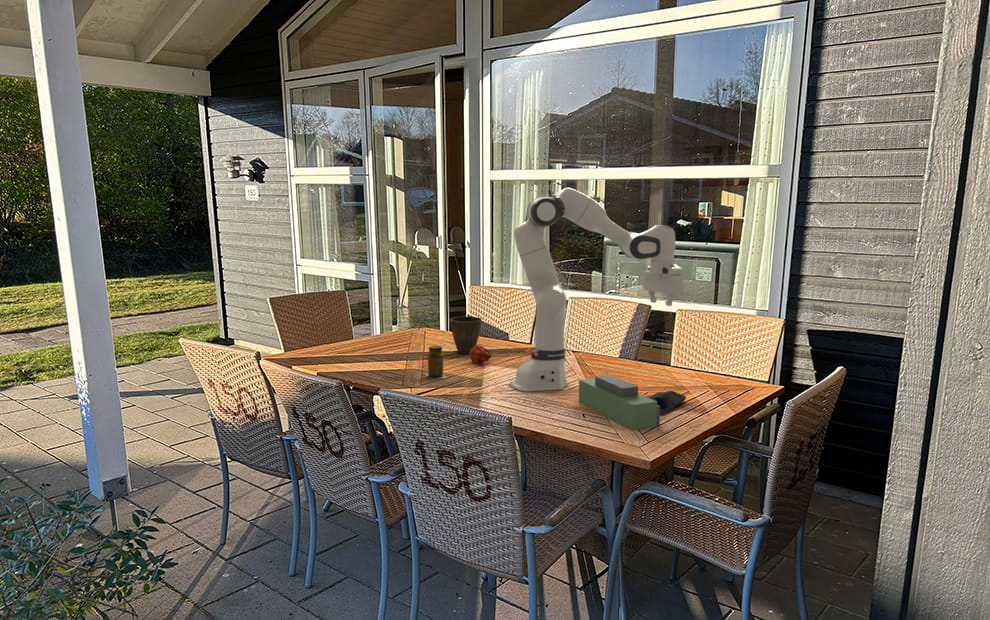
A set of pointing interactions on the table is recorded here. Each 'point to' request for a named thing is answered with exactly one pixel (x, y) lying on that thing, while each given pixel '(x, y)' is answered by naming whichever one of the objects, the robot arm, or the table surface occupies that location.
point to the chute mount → (619, 401)
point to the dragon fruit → (479, 354)
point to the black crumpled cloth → (667, 400)
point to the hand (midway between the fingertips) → (660, 303)
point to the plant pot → (465, 332)
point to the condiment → (435, 363)
